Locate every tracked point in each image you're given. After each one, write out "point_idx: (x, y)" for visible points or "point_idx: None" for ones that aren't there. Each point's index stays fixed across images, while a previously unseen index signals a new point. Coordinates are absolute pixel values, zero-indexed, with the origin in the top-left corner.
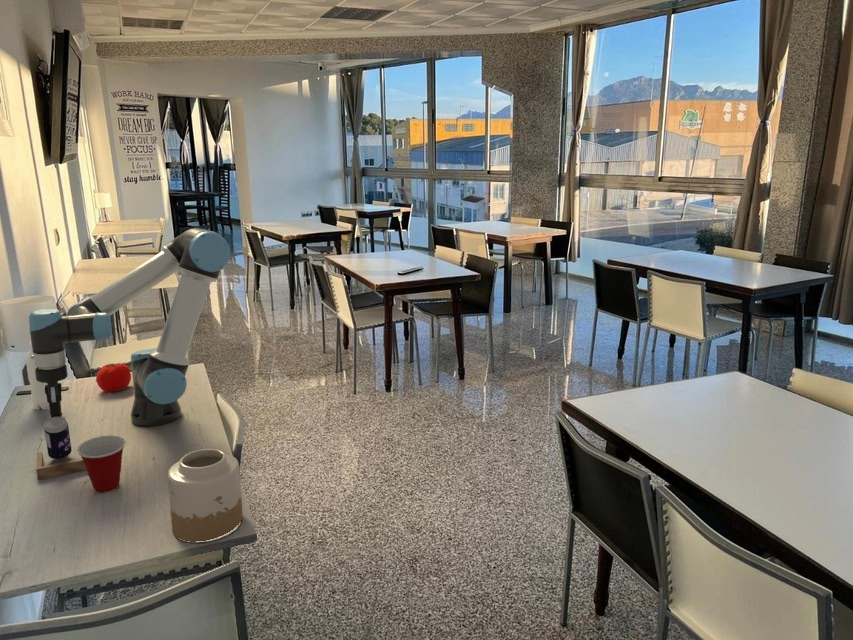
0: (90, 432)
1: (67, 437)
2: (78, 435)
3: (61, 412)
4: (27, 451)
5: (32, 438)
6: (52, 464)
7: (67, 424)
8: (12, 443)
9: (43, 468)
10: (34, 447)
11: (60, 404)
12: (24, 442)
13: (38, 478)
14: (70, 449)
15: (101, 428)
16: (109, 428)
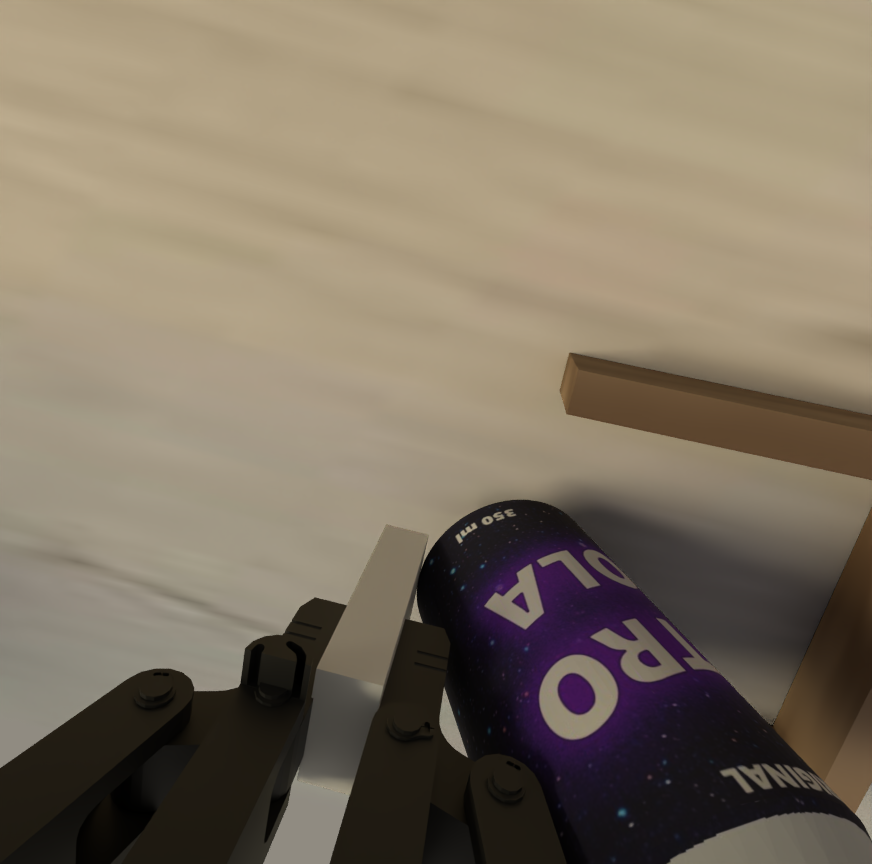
0: (99, 222)
1: (707, 662)
2: (116, 326)
3: (137, 712)
4: (231, 677)
5: (12, 597)
6: (849, 740)
7: (808, 815)
8: (40, 703)
9: (857, 799)
10: (185, 629)
11: (5, 856)
12: (60, 650)
13: None
14: (577, 527)
15: (49, 106)
16: (86, 33)
